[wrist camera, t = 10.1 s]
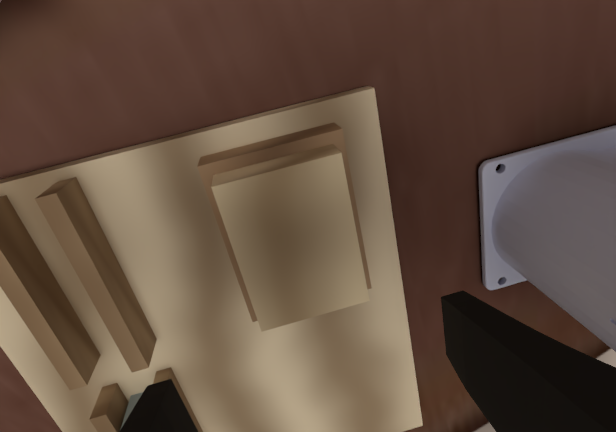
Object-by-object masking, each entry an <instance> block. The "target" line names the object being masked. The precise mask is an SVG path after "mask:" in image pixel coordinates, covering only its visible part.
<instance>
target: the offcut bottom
mask: <svg viewBox="0 0 616 432" xmlns="http://www.w3.org/2000/svg"><path fill="white" fill-rule="evenodd" d="M330 144H334V146H335V147H336V148H337V149H338V150H339V151H340V152H341V153H342V158H343V164H344V169H345V174H346V179H347V185H348V190H349V195H350V200H351V206H352V211H353V216H354V221H355V227H356V232H357V237H358V242H359V248H360V253H361V258H362V263H363V269H364V274H365V279H366V284H367V289H371V288H372V287H371V281H370V276H369V271H368V265H367V260H366V254H365V249H364V243H363V238H362V233H361V227H360V222H359V216H358V211H357V206H356V200H355V195H354V189H353V184H352V178H351V173H350V168H349V162H348V157H347V151H346V146H345V141H344V135H343V130H342V128H341V127H339V126H338V125H337V124H336V123H334V122H333V123H330V124H326V125H322V126H318V127H314V128H310V129H306V130H303V131H299V132H295V133H291V134H287V135H283V136H279V137H276V138H272V139H268V140H264V141H260V142H256V143H252V144H249V145H245V146H241V147H237V148H233V149H229V150H226V151H222V152H218V153H214V154H210V155H206V156H202V157H200V160H199V163H198V166H197V167H198V170H199V173H200V176H201V179H202V182H203V184H204V187H205V190H206V193H207V196H208V198H209V201H210V204H211V207H212V210H213V212H214V215H215V218H216V221H217V224H218V226H219V229H220V232H221V235H222V238H223V240H224V243H225V246H226V249H227V252H228V255H229V257H230V260H231V263H232V266H233V269H234V271H235V274H236V277H237V280H238V283H239V285H240V288H241V291H242V294H243V297H244V299H245V302H246V305H247V308H248V311H249V313H250V316H251V319H252V322H255V321H258V320H257V317H256V314H255V312H254V309H253V306H252V303H251V300H250V297H249V294H248V291H247V289H246V286H245V283H244V280H243V277H242V274H241V271H240V268H239V266H238V263H237V260H236V257H235V254H234V251H233V248H232V246H231V243H230V240H229V237H228V234H227V231H226V228H225V225H224V223H223V220H222V217H221V214H220V211H219V208H218V205H217V202H216V200H215V197H214V194H213V191H212V188H211V186H212V180H213V175H216V174H220V173H223V172H227V171H231V170H235V169H239V168H242V167H246V166H250V165H254V164H258V163H262V162H265V161H269V160H273V159H277V158H281V157H284V156H288V155H292V154H296V153H300V152H303V151H307V150H311V149H315V148H319V147H322V146H326V145H330Z"/></svg>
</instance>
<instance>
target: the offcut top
mask: <svg viewBox="0 0 616 432" xmlns="http://www.w3.org/2000/svg"><path fill="white" fill-rule="evenodd" d="M211 188H212V191H213V194H214V197H215V200H216V202H217V205H218V208H219V211H220V214H221V217H222V220H223V223H224V225H225V228H226V231H227V234H228V237H229V240H230V243H231V246H232V248H233V251H234V254H235V257H236V260H237V263H238V266H239V268H240V271H241V274H242V277H243V280H244V283H245V286H246V289H247V291H248V294H249V297H250V300H251V303H252V306H253V309H254V312H255V314H256V317H257V320H258V323H259V326H260V329H261V332H263V331H266V330H270V329H273V328H277V327H280V326H284V325H287V324H291V323H294V322H298V321H301V320H305V319H308V318H312V317H315V316H319V315H322V314H325V313H329V312H332V311H336V310H339V309H343V308H346V307H350V306H353V305H357V304H360V303H364V302H367V301H370V300H369V295H368V290H367V284H366V279H365V274H364V269H363V263H362V258H361V253H360V248H359V242H358V237H357V232H356V227H355V221H354V216H353V211H352V206H351V200H350V195H349V190H348V185H347V179H346V174H345V169H344V164H343V158H342V153H341V152H340V151H339V150H338V149H337V148H336V147H335V146H334V144H330V145H326V146H322V147H319V148H315V149H311V150H307V151H303V152H300V153H296V154H292V155H288V156H284V157H281V158H277V159H273V160H269V161H265V162H262V163H258V164H254V165H250V166H246V167H242V168H239V169H235V170H231V171H227V172H223V173H220V174H216V175H213V180H212V186H211Z"/></svg>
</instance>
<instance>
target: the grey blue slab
mask: <svg viewBox="0 0 616 432" xmlns="http://www.w3.org/2000/svg"><path fill="white" fill-rule="evenodd" d="M142 393H143V392H142ZM142 393H138V394H135V395H131V397H130V400H129V403H128V406H127V410H126V413H125V416H124V419H123V423H122V426H123V425H124V423H125V421H126V420H127V418H128V416H129V415H130V413H131V411H132V410H133V408H134V406H135V405H136V403H137V401H138V400H139V398H140V397H141V395H142ZM122 426H121V428H122ZM120 430H121V429H120Z"/></svg>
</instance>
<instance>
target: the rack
mask: <svg viewBox="0 0 616 432" xmlns="http://www.w3.org/2000/svg"><path fill="white" fill-rule="evenodd" d="M333 122H334V123H336V124H337V125H338V126H339V127H341V128H342V130H343V135H344V141H345V146H346V151H347V157H348V162H349V168H350V173H351V178H352V184H353V189H354V195H355V200H356V206H357V211H358V216H359V222H360V227H361V233H362V238H363V243H364V249H365V254H366V260H367V265H368V271H369V276H370V281H371V287H372V288H371V289H367V290H368V295H369V300H370V301H367V302H364V303H360V304H357V305H353V306H350V307H346V308H343V309H339V310H336V311H332V312H329V313H325V314H322V315H319V316H315V317H312V318H308V319H305V320H301V321H298V322H294V323H291V324H287V325H284V326H280V327H277V328H273V329H270V330H266V331H263V332H261V329H260V326H259V323H258V321H255V322H252V319H251V316H250V313H249V311H248V308H247V305H246V302H245V299H244V297H243V294H242V291H241V288H240V285H239V283H238V280H237V277H236V274H235V271H234V269H233V266H232V263H231V260H230V257H229V255H228V252H227V249H226V246H225V243H224V240H223V238H222V235H221V232H220V229H219V226H218V224H217V221H216V218H215V215H214V212H213V210H212V207H211V204H210V201H209V198H208V196H207V193H206V190H205V187H204V184H203V182H202V179H201V176H200V173H199V170H198V167H197V166H198V163H199V160H200V157H202V156H206V155H210V154H214V153H218V152H222V151H226V150H229V149H233V148H237V147H241V146H245V145H249V144H252V143H256V142H260V141H264V140H268V139H272V138H276V137H279V136H283V135H287V134H291V133H295V132H299V131H303V130H306V129H310V128H314V127H318V126H322V125H326V124H330V123H333ZM0 346H1V348H2V349H3V350H4V352H5V353H6V355H7V356H8V357H9V359H10V360H11V361H12V363H13V364H14V366H15V367H16V368H17V370H18V371H19V372H20V374H21V375H22V377H23V378H24V379H25V381H26V382H27V383H28V385H29V386H30V388H31V389H32V390H33V392H34V393H35V395H36V396H37V397H38V399H39V400H40V401H41V403H42V404H43V406H44V407H45V408H46V410H47V411H48V412H49V414H50V415H51V417H52V418H53V419H54V421H55V422H56V423H57V425H58V426H59V428H60V429H61V430H62V432H119V431H120V429H121V426H122V423H123V419H124V416H125V413H126V410H127V406H128V403H129V400H130V397H131V395H135V394H138V393H142V392H144V390H145V389H146V387H147V386H148V385H151V384H155V383H158V382H161V381H165V380H168V379H172V381H173V383H174V385H175V387H176V389H177V391H178V393H179V395H180V397H181V399H182V401H183V403H184V405H185V407H186V408H187V410H188V412H189V414H190V416H191V418H192V420H193V422H194V424H195V426H196V428H197V430H198V432H403V431H406V430H410V429H413V428H416V427H419V426H423V423H422V416H421V409H420V402H419V395H418V388H417V381H416V374H415V367H414V360H413V353H412V347H411V340H410V333H409V326H408V319H407V312H406V305H405V298H404V291H403V284H402V277H401V270H400V263H399V256H398V249H397V242H396V235H395V228H394V221H393V214H392V207H391V200H390V193H389V186H388V179H387V173H386V166H385V159H384V152H383V145H382V138H381V131H380V124H379V117H378V110H377V103H376V96H375V89H374V88H373V87H370V86H365V87H361V88H357V89H353V90H349V91H345V92H341V93H337V94H334V95H330V96H326V97H322V98H318V99H314V100H310V101H306V102H302V103H298V104H294V105H291V106H287V107H283V108H279V109H275V110H271V111H267V112H263V113H259V114H255V115H251V116H247V117H244V118H240V119H236V120H232V121H228V122H224V123H220V124H216V125H212V126H208V127H204V128H201V129H197V130H193V131H189V132H185V133H181V134H177V135H173V136H169V137H165V138H161V139H157V140H154V141H150V142H146V143H142V144H138V145H134V146H130V147H126V148H122V149H118V150H114V151H111V152H107V153H103V154H99V155H95V156H91V157H87V158H83V159H79V160H75V161H71V162H67V163H64V164H60V165H56V166H52V167H48V168H44V169H40V170H36V171H32V172H28V173H24V174H20V175H17V176H13V177H9V178H5V179H1V180H0Z"/></svg>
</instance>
